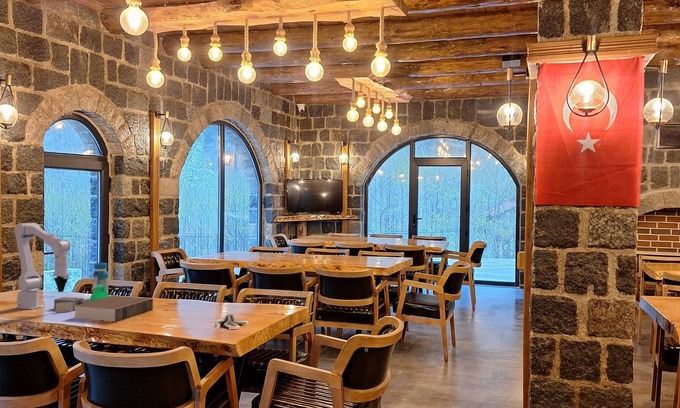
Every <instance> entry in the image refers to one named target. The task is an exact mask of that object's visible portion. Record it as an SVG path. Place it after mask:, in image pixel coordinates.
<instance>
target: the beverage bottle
mask: <svg viewBox="0 0 680 408" xmlns="http://www.w3.org/2000/svg"><path fill="white" fill-rule="evenodd" d="M93 268H94V272H93V274H92V292H93V291H94V289H95V288H96V286H97V285H102V286H105V287H106V292H107V293H108V294H109V281H110V279H109V272H108V270H107V269H108V263H107V262H96V263H94V265H93Z"/></svg>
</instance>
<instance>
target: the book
mask: <svg viewBox="0 0 680 408" xmlns="http://www.w3.org/2000/svg"><path fill="white" fill-rule="evenodd" d="M74 307H75V311H74V319H78V320H88V319H91V320H90V321H100V320H104V321H103V322H112V321H115V322H114V323H118V321H119V322H122V321H124V319H125V320H127V318H128V319H130V317H131V318H134V317H137V316H140V315H142V314H146V313H149V312H151V311H153V309H154V298H147V297H135V296H134V297H133V296H122V295H109V297H106V298H102V299H98V300H94V301H90V302H88V301H87V302H84V303H82V304H79V305H75V306H74ZM148 311H149V312H148ZM145 312H146V313H145ZM136 315H137V316H136ZM133 316H134V317H133ZM121 320H122V321H121Z"/></svg>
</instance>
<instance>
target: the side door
mask: <svg viewBox="0 0 680 408" xmlns="http://www.w3.org/2000/svg"><path fill="white" fill-rule="evenodd" d="M74 306H75V302H67V303H57V304H56V309H55V313H57V312H59V313H66V312H75V307H74Z"/></svg>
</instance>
